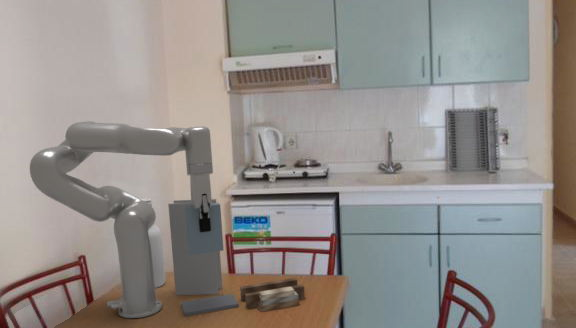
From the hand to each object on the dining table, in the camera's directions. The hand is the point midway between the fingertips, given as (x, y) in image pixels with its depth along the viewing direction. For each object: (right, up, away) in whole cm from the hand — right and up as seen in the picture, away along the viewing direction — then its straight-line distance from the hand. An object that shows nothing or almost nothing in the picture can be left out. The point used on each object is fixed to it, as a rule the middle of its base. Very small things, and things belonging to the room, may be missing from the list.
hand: (204, 229), depth 154 cm
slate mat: (+1, -24, +3) cm, 24 cm away
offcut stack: (+22, -23, 0) cm, 32 cm away
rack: (+20, -22, +6) cm, 30 cm away
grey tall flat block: (-4, -22, +16) cm, 28 cm away
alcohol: (-22, -22, +25) cm, 40 cm away
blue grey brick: (0, -7, +1) cm, 7 cm away
